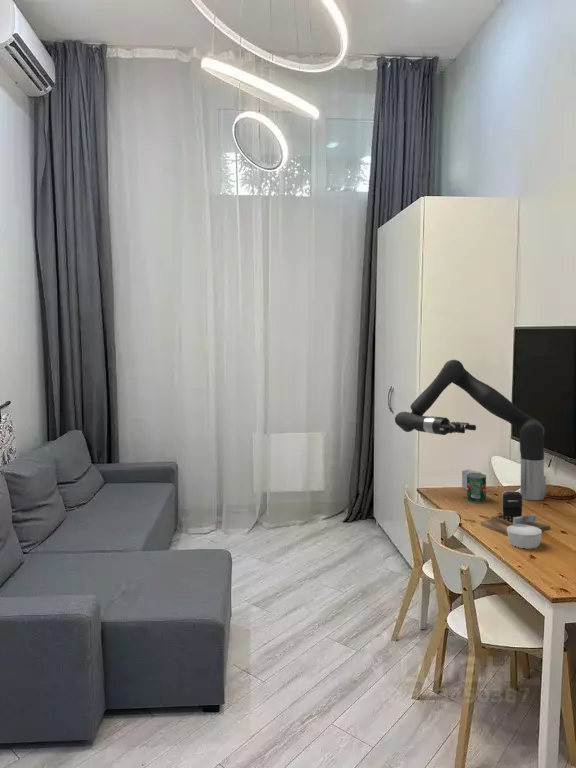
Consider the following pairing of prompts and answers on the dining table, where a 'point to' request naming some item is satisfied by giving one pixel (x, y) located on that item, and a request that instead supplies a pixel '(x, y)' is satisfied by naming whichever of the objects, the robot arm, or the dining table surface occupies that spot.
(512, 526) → the ramekin
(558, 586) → the dining table surface
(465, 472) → the medicine box
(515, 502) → the battery charger
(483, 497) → the canned tomato
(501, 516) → the rail board
